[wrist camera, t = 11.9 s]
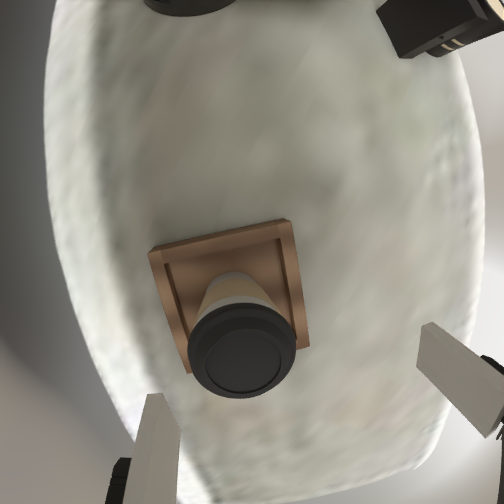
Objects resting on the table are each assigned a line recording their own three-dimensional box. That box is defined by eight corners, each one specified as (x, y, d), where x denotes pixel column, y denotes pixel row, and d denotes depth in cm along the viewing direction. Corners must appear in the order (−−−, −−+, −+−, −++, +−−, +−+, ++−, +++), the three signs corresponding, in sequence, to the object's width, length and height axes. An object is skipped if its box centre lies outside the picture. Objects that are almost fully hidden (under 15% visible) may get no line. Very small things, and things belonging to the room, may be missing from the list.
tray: (153, 247, 33) (147, 253, 30) (283, 218, 35) (291, 221, 31) (188, 359, 37) (187, 373, 34) (302, 333, 38) (309, 346, 35)
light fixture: (452, 62, 32) (522, 37, 15) (399, 59, 31) (478, 18, 14) (430, 17, 30) (491, -17, 12) (374, 10, 29) (437, -44, 12)
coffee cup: (283, 285, 35) (326, 347, 21) (244, 342, 36) (262, 423, 22) (220, 248, 33) (223, 293, 19) (182, 310, 34) (165, 385, 20)
